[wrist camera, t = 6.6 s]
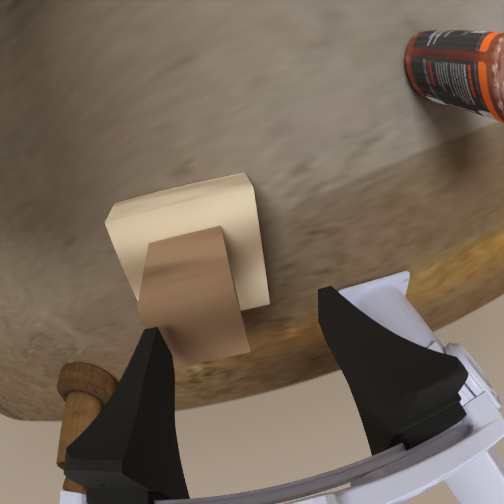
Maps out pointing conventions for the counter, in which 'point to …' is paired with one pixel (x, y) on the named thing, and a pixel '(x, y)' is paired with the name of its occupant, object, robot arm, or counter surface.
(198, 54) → the counter surface
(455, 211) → the counter surface
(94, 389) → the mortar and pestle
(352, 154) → the counter surface
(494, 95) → the supplement bottle
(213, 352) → the walnut block
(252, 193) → the birch base block
